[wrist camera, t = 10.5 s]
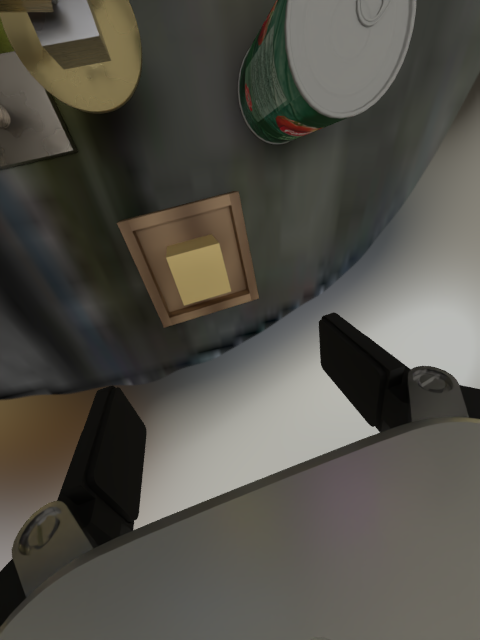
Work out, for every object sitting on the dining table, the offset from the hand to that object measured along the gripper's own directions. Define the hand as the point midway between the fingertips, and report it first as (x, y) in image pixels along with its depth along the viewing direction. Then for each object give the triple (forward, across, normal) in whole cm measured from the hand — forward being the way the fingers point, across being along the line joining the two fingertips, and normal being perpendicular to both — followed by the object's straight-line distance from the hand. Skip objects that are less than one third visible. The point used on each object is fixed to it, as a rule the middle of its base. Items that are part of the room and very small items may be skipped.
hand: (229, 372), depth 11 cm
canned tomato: (+20, -12, -13) cm, 27 cm away
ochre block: (+19, 0, 0) cm, 19 cm away
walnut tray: (+20, 0, 0) cm, 20 cm away
